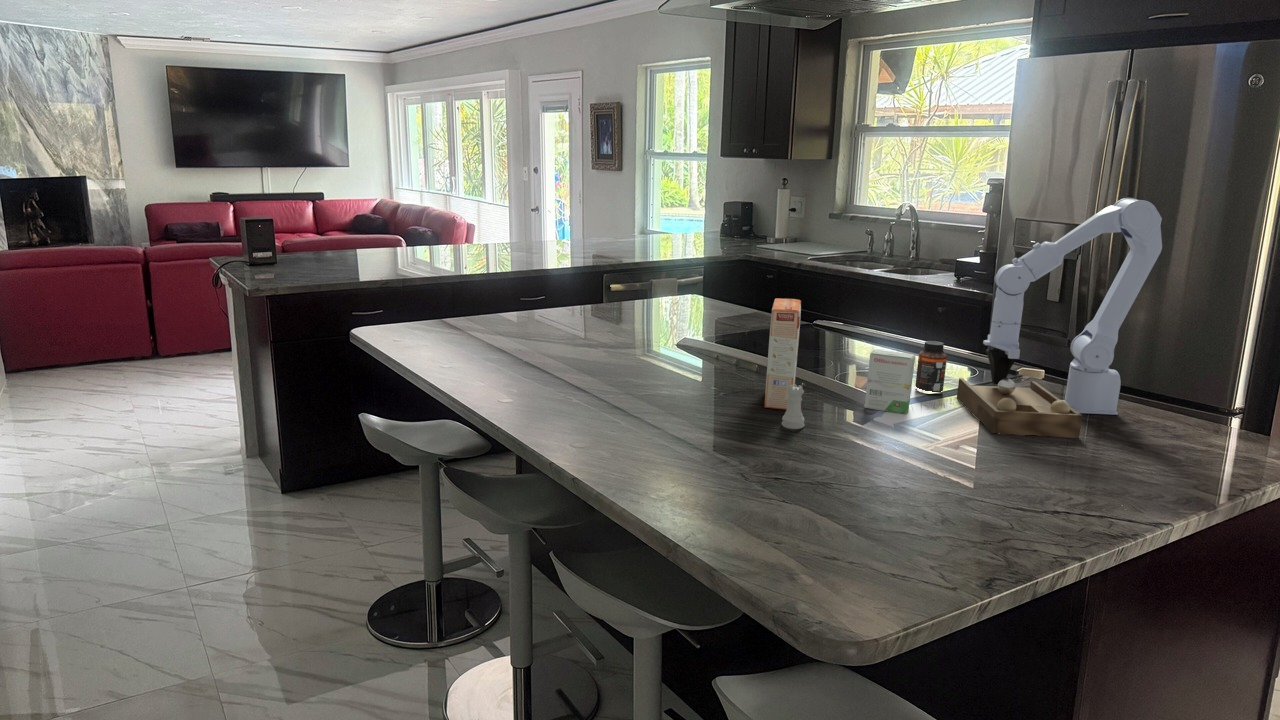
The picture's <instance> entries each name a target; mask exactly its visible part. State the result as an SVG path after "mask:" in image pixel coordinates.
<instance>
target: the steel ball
mask: <svg viewBox="0 0 1280 720" xmlns="http://www.w3.org/2000/svg"><path fill="white" fill-rule="evenodd" d="M997 387H998V390H999V391H1000V392H1001V393H1002V394H1005V395H1008V394H1011V393H1013V392H1014V390H1015V387H1016V383H1015V382H1014V380H1012V379H1011V378H1008V377H1007V378H1005V379H1002V380H1001V381H1000V382H999V383H998V384H997Z"/></svg>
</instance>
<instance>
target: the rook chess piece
mask: <svg viewBox="0 0 1280 720" xmlns="http://www.w3.org/2000/svg"><path fill="white" fill-rule="evenodd" d="M787 392H788V394H789V397H788V406H787V410H785V412H784V415H782V418H781V420H782V422H781V425H782V427H784V429H789V430H801V429H802V428H804V427H805V417H804V416H803V415H804V413H802V406H801V405H802V401H803V398H802V395H803V394H804V393H805V391H804V389H803V386H802V385H799V384H798V385H797V384H795V385H794V387H793V385H790V386H789V388H788V390H787Z"/></svg>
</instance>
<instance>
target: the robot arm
mask: <svg viewBox="0 0 1280 720" xmlns="http://www.w3.org/2000/svg"><path fill="white" fill-rule="evenodd" d="M1162 220H1163V218H1162V216H1161V214H1160V213H1159V211H1158V210H1157V207H1156V206H1155V205H1154V204H1153V203H1152V202H1150V201H1148V200H1143V199H1136V198H1133V197H1124V198H1121V199H1119V200H1117V201H1116V202H1115V203H1114V204H1113V205H1112V204H1111V205H1109V206H1106V207H1104V208H1102V209H1101V210H1099V211H1098V212H1097V213H1095V214H1094V215H1092V216H1090V217H1089V218H1088V219H1086V220H1085V221H1083V222H1082V223H1080V224H1079V225H1078V226H1076V227H1075V228H1074V229H1072V230H1070V231H1069V232H1068V233H1066V234H1065V235H1063V236H1062V237H1061V238H1058V240H1057V241H1056V240H1055V242H1051V241H1043V242H1042V243H1039V242H1036V243H1035V244H1033V245H1032V247H1033V248H1032V249H1031V250H1030V251H1028V252H1027V253H1025V254H1023V255H1022V256H1020V257H1018V258H1017V257H1014V258H1013V259H1011V262H1012V263H1008V264H1005V265H1003V266H1001V267H1000V268H999V269H998V270H997V272H996V273H995V274H996V275H994V283H995V284H996V286H997V287H996V291H995V298H994V299H993V300H994V301H993V310H992V316H991V321H990V322H991V323H990V333H989V334H987V337H986V338H987V339H985V340H983V342H982V344H983V345H984V346H990V347H992V349H991V348H990V349H987V348H986V350H985V354H986V355H987V359H988V362H989V366H990V367H989V369H990V375H991V376H990V377H991V378H990V379H991V383H993V384H994V385H998V383H999V382H1000V381H1001V380H1002V379H1005V378H1008V375H1009V373H1010V371H1011V368H1012V367H1013V366H1014V364H1015V362H1016V361H1017V360H1019V359H1020V353H1021V349H1020V348H1019V347H1020V343H1019V338H1020V330H1021V326H1022V325H1021V324H1022V318H1023V317H1022V316H1023V310H1024V297H1025V292H1026V291H1027V290H1028V288H1029V286H1030V284H1031V282H1036V281H1037V280H1039V279H1041V278H1042V277H1044V276H1045V275H1047V274H1048V273H1050V272H1052V271H1053V270H1054V269H1056V268H1057V267H1060V266H1061V265H1062V264H1063V260H1064V258H1065V256H1066V255H1067V254H1069V253H1071V252H1072V251H1074V250H1075V249H1077V248H1079V247H1081V246H1083V245H1084V244H1086V243H1088V242H1089V241H1091V240H1093V239H1094V238H1096V237H1098V236H1100V235H1101V234H1102V235H1103V234H1112V233H1122V234H1123V236H1124V239H1125V240H1126V242H1127V245H1128V247H1129V251H1128V253H1127V255H1126V257H1125V259H1124V260H1123V263H1122V264H1121V266H1120V269H1119V270H1118V272H1117V273H1116V276H1115V277H1114V280H1113V282H1112V283H1111V285H1110V287H1109V289H1108V291H1107V292H1106V295H1104V298H1103V300H1102V302H1101V303H1100V306H1099V308H1098V309H1097V311H1096V313H1095V315H1094V317H1093V319H1092V320H1091V321H1089V323H1086V325H1085V326H1084V329H1083V331H1081V333H1079V334H1078V335H1076V336H1075V337H1074V338H1073V339H1072V341H1071V343H1070V352H1071V355H1072V356H1073V357H1074V358H1073V359H1072V361H1071V362H1070V364H1069V370H1068V375H1067V383H1066V389H1065V395H1064V396H1065V397H1064V399H1062V400H1063V401H1065V402H1067V403H1068V405H1069V406H1070V407H1071V408H1073V409H1074V410H1076V411H1077V412H1078V413H1080V414H1093V415H1111V416H1112V415H1114V416H1115V415H1118V414H1119V413H1118V412H1117V409H1118V408H1117V407H1118V402H1119V398H1120V391H1121V383H1122V382H1121V376H1120V373H1119V372H1118V371H1117V370H1116V369H1114V368H1113V369H1111V368H1110V366H1111V365H1112V363H1113V360H1114V358H1115V348H1116V345H1117V343H1118V340H1119V329H1120V328H1121V326H1122V324H1123V322H1124V320H1125V319H1126V317H1127V315H1128V313H1129V312H1130V310H1131V307H1132V306H1133V304H1134V302H1135V301H1136V298H1137V297H1138V294H1139V293H1140V291H1141V289H1142V288H1143V285H1144V284H1145V282H1146V280H1147V278H1148V277H1149V274H1150V272H1151V271H1152V269H1153V268H1154V265H1155V263H1156V262H1157V260H1158V258H1159V256H1160V255H1161V253H1162V250H1163V241H1162V230H1161V229H1162V228H1161V224H1162Z"/></svg>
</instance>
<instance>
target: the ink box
mask: <svg viewBox="0 0 1280 720" xmlns="http://www.w3.org/2000/svg"><path fill="white" fill-rule="evenodd" d="M868 360H869V362H868V370H867V371H868V373H867V380H866V391H865V402H864V408H865V409H869V410H876V411H877V410H878V411H882V412H889V413H896V414H902V415H906V414H907V413H908V412H909V409H910V402H911V393H912V388H913V387H912V385H913V378H914V372H915V371H914V370H915V363H916V354H912V353H905V352H899V351H889V350H883V349H874V350H872V351H871V352H870V353H869V359H868Z"/></svg>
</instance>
